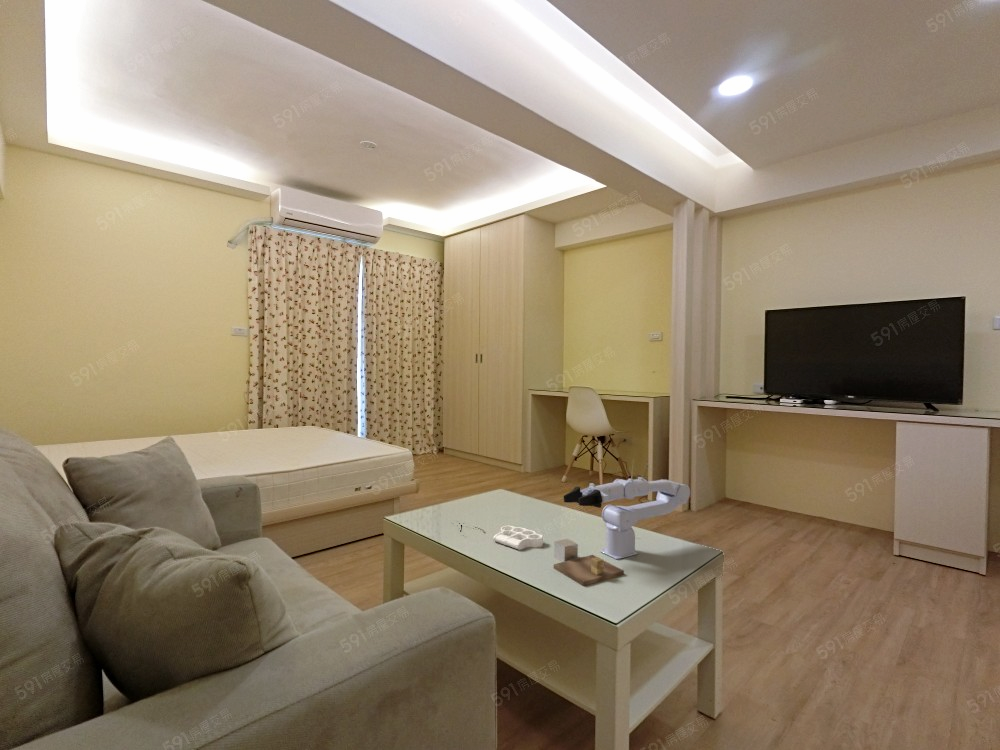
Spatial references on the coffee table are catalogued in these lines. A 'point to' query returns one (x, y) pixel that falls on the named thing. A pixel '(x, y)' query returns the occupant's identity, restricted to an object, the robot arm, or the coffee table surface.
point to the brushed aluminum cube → (565, 550)
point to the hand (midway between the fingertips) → (571, 500)
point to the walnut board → (588, 570)
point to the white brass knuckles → (518, 537)
